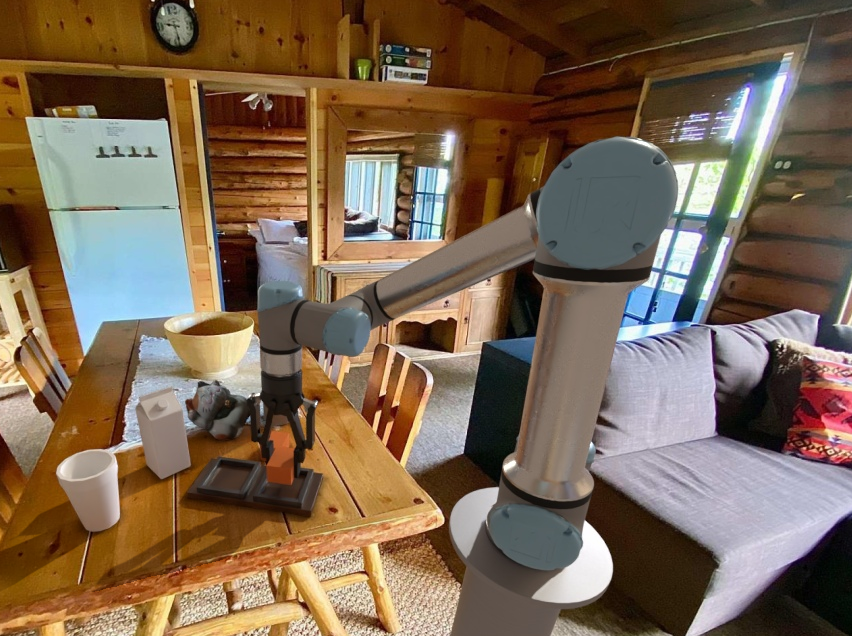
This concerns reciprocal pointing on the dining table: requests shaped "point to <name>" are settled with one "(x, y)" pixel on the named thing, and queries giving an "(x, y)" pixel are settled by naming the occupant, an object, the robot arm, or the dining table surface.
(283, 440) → the pad
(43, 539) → the dining table surface
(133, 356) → the dining table surface
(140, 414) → the milk carton
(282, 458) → the pad
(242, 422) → the lucky cat figurine
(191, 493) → the dark grey divided tray
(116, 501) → the foam cup
